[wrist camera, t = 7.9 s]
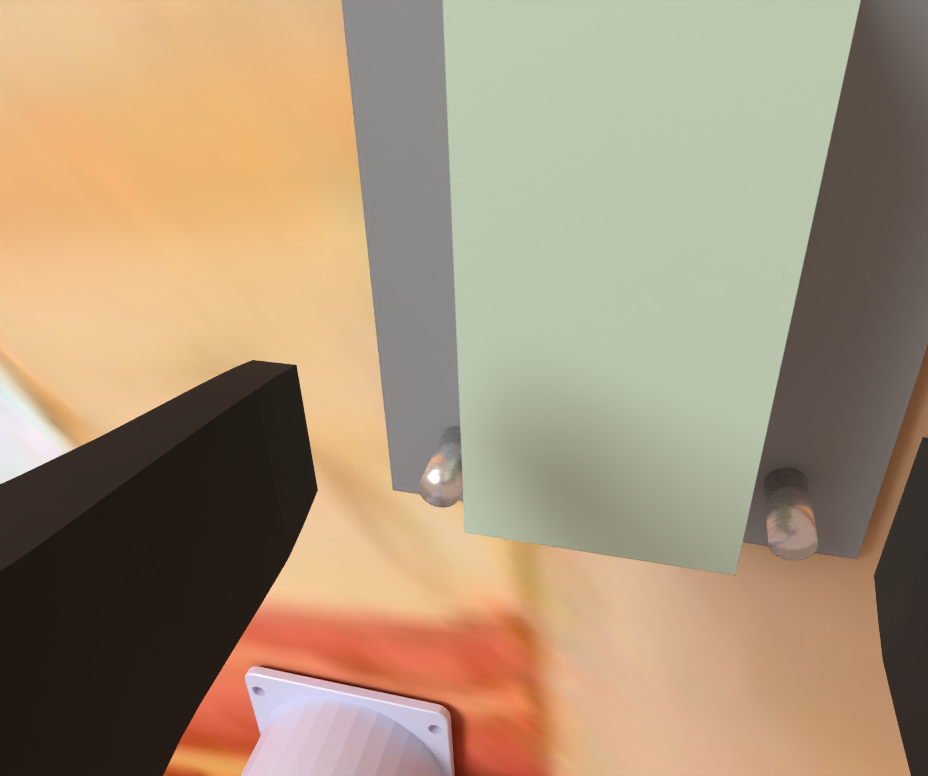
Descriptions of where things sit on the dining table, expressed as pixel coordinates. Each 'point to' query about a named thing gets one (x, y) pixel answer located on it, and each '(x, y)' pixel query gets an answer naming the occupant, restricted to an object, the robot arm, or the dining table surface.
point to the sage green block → (630, 258)
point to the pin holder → (816, 305)
